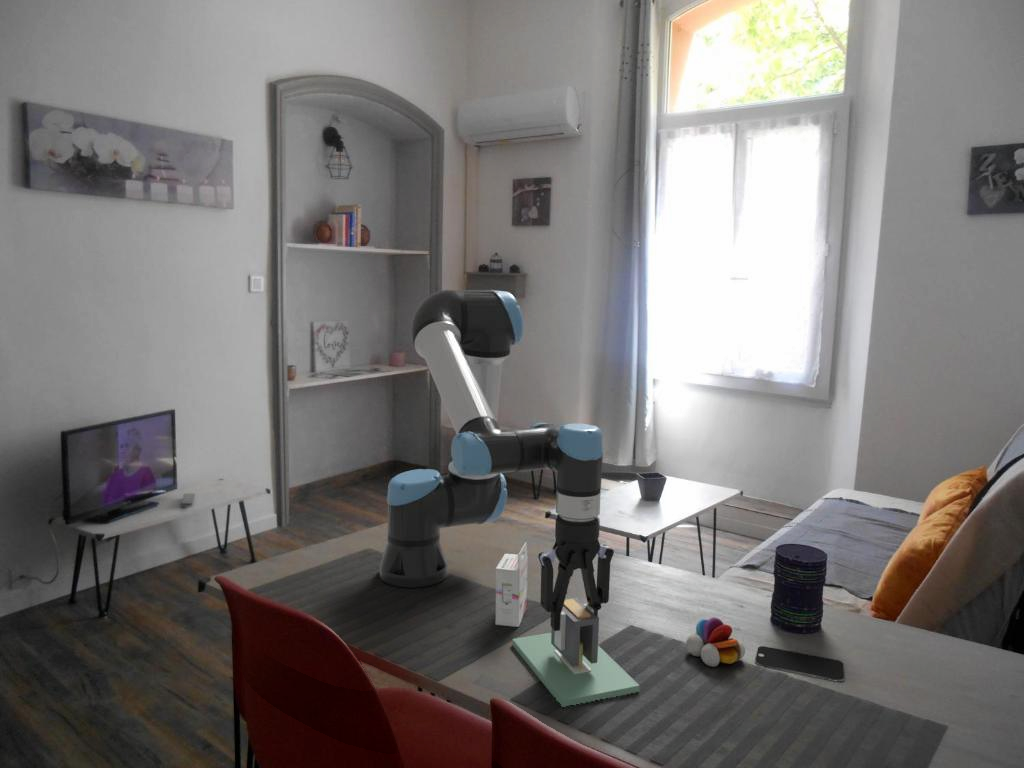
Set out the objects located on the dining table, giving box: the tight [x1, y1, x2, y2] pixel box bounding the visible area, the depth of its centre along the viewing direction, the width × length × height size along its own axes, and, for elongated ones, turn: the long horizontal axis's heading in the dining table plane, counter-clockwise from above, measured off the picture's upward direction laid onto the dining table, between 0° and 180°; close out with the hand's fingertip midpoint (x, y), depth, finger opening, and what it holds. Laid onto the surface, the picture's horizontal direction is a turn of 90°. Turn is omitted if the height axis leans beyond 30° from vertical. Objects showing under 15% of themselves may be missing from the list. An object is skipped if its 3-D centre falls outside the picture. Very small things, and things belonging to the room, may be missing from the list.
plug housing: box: [550, 597, 600, 667], centre depth 136 cm, size 9×5×8 cm, turn 21°
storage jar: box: [769, 543, 828, 636], centre depth 155 cm, size 10×10×15 cm
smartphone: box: [754, 645, 846, 682], centre depth 140 cm, size 8×1×15 cm
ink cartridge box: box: [494, 541, 529, 628], centre depth 155 cm, size 9×5×15 cm, turn 168°
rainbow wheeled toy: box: [685, 616, 746, 668], centre depth 142 cm, size 8×10×7 cm
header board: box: [511, 632, 640, 708], centre depth 137 cm, size 22×14×6 cm, turn 21°
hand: (573, 643), depth 137 cm, fingers closed on plug housing, 5 cm apart
